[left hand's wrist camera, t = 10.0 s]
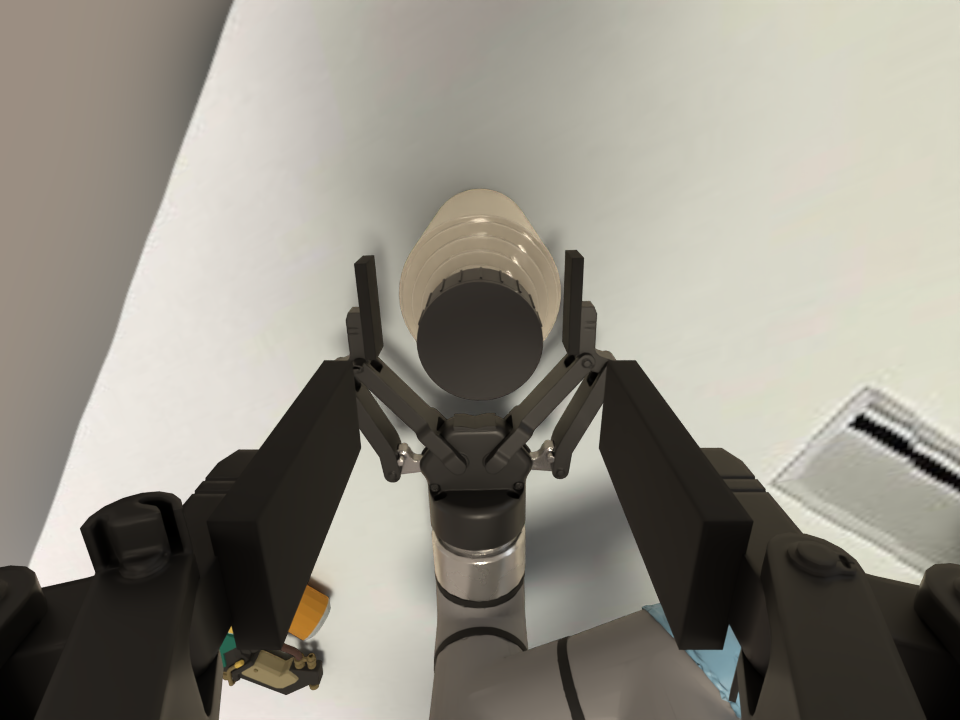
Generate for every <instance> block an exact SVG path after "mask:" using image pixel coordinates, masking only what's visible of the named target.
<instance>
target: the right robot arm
mask: <svg viewBox="0 0 960 720" xmlns="http://www.w3.org/2000/svg"><path fill="white" fill-rule="evenodd" d="M354 267H355V276H356V284H357V293H358V302H359V307H352V308H351V310H350V311H349V312H348V314H347V318H346V326H347V334H348V342H349V350H350V355H349V356H346V357H339V358H337V359H336V360H353V370H354V380H355V391H356V401H357V411H358V421H359V429H360V430H361V432H362V433H363V435H364V436H365V437H366V439H367V440H368V442H369V443H370V444H371V446H372V447H373V449H374V450H375V452H376V453H377V454H378V456H379V457H380V461H381V465H382V469H383V473H384V477H385V479H386V480H387V481H389V482H397V481H398V480H399V479H400V477H401V474H407V473H415V472H422V474H423V475H424V476H425V478H426V480H427V482H428V491H429V504H430V517H431V526H432V544H433V555H434V566H435V577H436V588H437V631H436V642H435V653H434V682H433V691H432V699H431V708H430V717H429V720H741V709H740V699H739V692H738V696H737V700H736V703H734V702H731V701H728V700H729V694H730V689H731V685H732V681H733V677H734V673H735V669H736V665H737V662H738V658H739V654H740V650H741V646H740V644H739V642H738V640H737V638H736V636H735V635H734V633H733V631H732V629H731V627H730V625H729V627H728V631H727V635H726V639H725V643H724V648H723V650H679V649H678V646H677V644H676V641H675V639H674V636H673V634H672V631H671V629H670V626H669V624H668V621H667V619H666V616H665V614H664V611H663V609H662V606H661V604H660V603H658V604H655V605H651V606H649V605H646V606H643V607H642V610H640V611H637V612H635V613H632V614H629V615H627V616H624V617H621V618H619V619H616V620H613V621H610V622H608V623H605V624H602V625H600V626H597V627H594V628H592V629H589V630H586V631H584V632H581V633H578V634H576V635H573V636H567V637H565V638H562V639H558V640H556V641H553V642H550V643H547V644H544V645H541V646H538V647H535V648H532V649H529V650H528V642H527V631H526V620H525V590H524V575H525V525H524V524H525V512H526V478H527V476H528V474H529V472H530V471H531V470H544V471H552V474H553V476H554V477H555V478H557V479H563V478H565V477H566V476H567V475H568V473H569V467H570V462H571V456H572V453H573V451H574V449H575V448H576V446H577V444H578V443H579V441H580V440H581V438H582V436H583V435H584V433H585V431H586V430H587V428H588V427H589V425H590V423H591V422H592V420H593V419H594V417H595V415H596V414H597V412H598V410H599V409H600V407H601V406H602V404H603V401H604V391H605V380H606V370H607V360H616V359H615V358H614V356H613V355H612V353H611V352H609V351H600V350H597V349H595V339H596V322H597V313H596V310H595V307H594V306H593V304H592V303H591V301H582V289H583V268H584V257H583V256H582V255H581V254H580V253H579V252H578V251H577V250H565V277H564V306H563V336H562V342H563V344H564V347H565V349H566V351H567V354H566V355H565V356H564V357H563V358H562V360H561V361H560V362H559V363H558V364H557V365H556V366H555V367H554V368H553V369H552V370H551V371H550V372H549V374H548V375H547V376H546V377H545V378H544V379H543V380H542V381H541V382H540V383H539V384H538V385H537V387H536V388H535V389H534V390H533V391H532V392H531V393H530V394H529V395H528V396H527V397H526V398H525V399H524V401H523V402H522V403H521V404H520V405H518V406H515V407H514V408H513V409H512V410H511V411H510V412H509V413H508V414H507V415H506V417H505V418H504V419H503V418H501V417H499V416H496V413H484V414H481V415H477V416H473V415H468V414H454V417H452V418H449V419H448V420H447V419H446V418H445V417H444V416H443V415H442V414H441V413H440V412H438V411H437V410H436V409H435V408H431V407H430V406H429V405H428V404H426V403H425V402H424V401H423V400H422V399H421V398H420V397H419V396H418V395H417V394H416V393H415V392H414V391H413V390H412V389H411V388H410V387H409V386H408V385H407V384H406V383H405V382H404V381H403V380H402V379H401V378H399V377H398V376H397V375H396V374H395V373H394V372H393V371H392V370H391V369H390V368H389V367H388V366H387V365H386V364H385V363H384V362H383V361H382V360H381V359H380V358H379V357H378V356H379V354H380V352H381V350H382V348H383V338H382V328H381V318H380V308H379V298H378V288H377V279H376V269H375V259H374V255H370V256H362V257H361V258H360V259H359V260H358V261H357V262H356V263H354ZM582 380H583V381H582ZM581 381H582V383H581V384H580V386H579V388H578V389H577V391H576V393H575V395H574V396H573V398H572V400H571V401H570V403H569V405H568V406H567V408H566V410H565V411H564V413H563V415H562V417H561V418H560V420H559V422H558V423H557V425H556V427H555V429H554V431H553V434H552V437H551V441H550V440H545V441H544V443H543V444H542V446H541V448H540V449H539V450H538V451H536V452H531V451H530V449H529V447H528V446H527V445H526V444H525V443H526V442H527V441H528V440H529V439H530V438H531V436H532V434H533V432H534V430H535V429H536V428H537V427H538V426H539V425H540V423H541V422H542V421H543V420H544V419H545V418H546V417H547V416H548V415H549V414H550V413H551V412H552V411H553V410H554V409H555V408H556V407H557V406H558V405H559V404H560V403H561V402H562V401H563V399H564V398H565V397H566V396H567V395H568V394H569V393H570V392H571V391H572V390H573V389H574V388H575V387H576V386H577V385H578V384H579V383H580V382H581ZM368 389H369V390H370V391H371V392H372V393H373V394H374V395H376V396H377V397H378V398H379V399H380V400H381V401H382V402H383V403H384V404H385V405H386V406H387V407H388V408H389V409H391V410H392V411H393V412H394V413H395V414H396V415H397V416H398V417H399V418H400V419H401V420H402V421H403V422H404V423H406V424H407V425H408V426H409V427H410V428H411V429H412V430H413V431H414V432H415V433H416V435H417V438H418V439H419V441H420V442H421V443H422V444H423V445H425V446H426V447H425V448H424V450H423V451H422V454H415V453H413V452H412V450H411V449H410V447H409V446H408V444H407V443H401V440H400V437H399V435H398V433H397V432H396V430H395V428H394V427H393V425H392V424H391V422H390V421H389V419H388V418H387V416H386V415H385V413H384V412H383V410H382V409H381V408H380V406H379V405H378V403H377V402H376V400H375V399H374V397H373V396H372V394H371V393H370V391H369V390H368Z"/></svg>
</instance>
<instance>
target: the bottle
mask: <svg viewBox="0 0 960 720" xmlns="http://www.w3.org/2000/svg"><path fill="white" fill-rule="evenodd" d="M480 267H482V268H487V269H493V270H497V271H500V270H501V271H502V272H503V273H505V274H507V275H509V276H511V277H512V278H514V279H515V280H519V283H520V284H521V285H522V286H523V287H524V288H525V290H526V291H527V292H528V294H531V296H532V299H533V302H534V305H535V309H536V311H538V314H539V317H540V320H541V323H542V326H543V327H541V328H542V333H543V341H544V340H545V339H546V338H547V336H548V334H549V333H550V331H551V330H552V327H553V325H554V323H555V321H556V318H557V315H558V311H559V306H560V300H561V287H560V278H559V274H558V270H557V267H556V265H555V262H554V260H553V258H552V256H551V254H550V253H549V251H548V249H547V248H546V246H545V245H544V243H543V242H542V240H541V239H540V237H539V236H538V234H537V233H536V231H535V230H534V228H533V227H532V225H531V224H530V222H529V221H528V219H527V218H526V216H525V215H524V213H523V212H522V211H521V209H520V208H519V207H518V205H517V204H516V203H515V202H514V201H512V200H511V199H510V198H508V197H507V196H505V195H503V194H501V193H499V192H496V191H493V190H489V189H471V190H467V191H464V192H461V193H459V194H457V195H455V196H453V197H452V198H450V199H449V200H448V201H447V202H445V203H444V204H443V206H442V207H441V208H440V209H439V211H438V212H437V214H436V215H435V217H434V218H433V220H432V221H431V223H430V224H429V226H428V227H427V229H426V230H425V232H424V233H423V235H422V236H421V238H420V239H419V241H418V242H417V244H416V245H415V247H414V248H413V250H412V251H411V253H410V254H409V256H408V258H407V260H406V262H405V265H404V268H403V271H402V274H401V279H400V286H399V299H400V307H401V311H402V315H403V318H404V321H405V323H406V325H407V327H408V329H409V331H410V333H411V334H412V336H413V337H414V339H415V340H416V342H417V332H418V327H419V325H418V322H419V319H420V316H421V313H422V311H423V309H425V307H426V303H427V300H428V297H429V294H430V293H432V292H433V291H434V290H435V288H436V287H437V286H438V285H439V284H440V283H441V282H442V280H443V279H444V278H445V279H446V278H448V277H450V276H451V275H453V274H455V273H457V272H460V270H462V271H463V270H466V269H473V268H480Z"/></svg>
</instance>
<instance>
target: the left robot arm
mask: <svg viewBox="0 0 960 720" xmlns="http://www.w3.org/2000/svg"><path fill="white" fill-rule="evenodd" d="M360 450H361V442H360V432H359V421H358V411H357V401H356V391H355V380H354V370H353V360H324V362H323V363H322V364H321V366H320V367H319V368H318V370H317V371H316V372H315V374H314V375H313V377H312V378H311V379H310V381H309V382H308V383H307V385H306V386H305V387H304V389H303V390H302V392H301V393H300V394H299V396H298V397H297V398H296V400H295V401H294V402H293V404H292V405H291V406H290V408H289V409H288V411H287V412H286V413H285V415H284V416H283V417H282V419H281V420H280V421H279V423H278V424H277V426H276V427H275V428H274V430H273V431H272V432H271V434H270V435H269V436H268V438H267V439H266V441H265V442H264V443H263V445H262V446H261V447H260V449H259V450H237V451H236V452H234V453H233V454H231V455H229V456H228V457H226V458H225V459H223V460H222V461H220V462H219V463H218V464H217V465H216V466H215V467H214V468H213V470H212V471H211V472H210V473H209V474H208V476H207V477H206V480H205V481H203V482H202V483H201V484H200V485H199V486H198V488H197V489H196V490H195V494H192V495H191V496H190V497H189V498H188V500H187V501H186V502H185V503H184V504H183V506H182V502H181V499H179V498H178V497H177V496H175V495H174V494H172V493H166V492H160V491H158V492H146V493H140V494H136V495H132V496H129V497H125V498H122V499H120V500H118V501H115V502H113V503H111V504H109V505H106V506H104V507H103V508H101V509H100V510H99V511H97V512H96V513H94V514H93V515H91V516H90V517H89V518H88V519H87V520H86V522H85V523H84V524H83V525H82V526H81V528H80V530H81V533H82V536H83V539H84V542H85V544H86V547H87V550H88V553H89V556H90V559H91V561H92V564H93V567H94V570H95V575H94V576H91V577H88V578H84V579H79V580H74V581H70V582H65V583H61V584H56V585H52V586H47V587H43V588H41V586H40V584H39V581H38V579H37V576H36V574H35V572H34V571H32V570H31V569H29V568H28V567H25V566H5V567H0V720H219V711H220V700H221V690H222V680H223V663H222V658H221V654H220V650H219V649H220V647H221V645H222V643H223V641H224V639H225V637H226V635H227V633H228V631H229V630H230V628H231V627H232V631H233V635H234V639H235V643H236V648H237V650H281V649H282V646H283V644H284V641H285V639H286V636H287V634H288V631H289V629H290V626H291V624H292V621H293V619H294V616H295V614H296V611H297V609H298V606H299V604H300V601H301V599H302V596H303V593H304V591H305V588H306V586H307V583H308V581H309V578H310V576H311V573H312V571H313V568H314V566H315V563H316V561H317V558H318V556H319V553H320V551H321V548H322V546H323V543H324V541H325V538H326V535H327V533H328V530H329V528H330V525H331V523H332V520H333V518H334V515H335V513H336V510H337V508H338V505H339V503H340V500H341V498H342V495H343V493H344V490H345V488H346V485H347V483H348V480H349V477H350V475H351V472H352V470H353V467H354V465H355V462H356V460H357V457H358V455H359V452H360ZM599 450H600V452H601V455H602V457H603V460H604V462H605V465H606V467H607V470H608V472H609V475H610V477H611V480H612V483H613V485H614V488H615V490H616V493H617V495H618V498H619V500H620V503H621V505H622V508H623V510H624V513H625V515H626V518H627V520H628V523H629V525H630V528H631V530H632V533H633V535H634V538H635V541H636V543H637V546H638V548H639V551H640V553H641V556H642V558H643V561H644V563H645V566H646V568H647V571H648V573H649V576H650V578H651V581H652V583H653V586H654V588H655V591H656V593H657V596H658V599H659V601H660V604H661V606H662V609H663V611H664V614H665V616H666V619H667V621H668V624H669V626H670V629H671V631H672V634H673V636H674V639H675V641H676V644H677V646H678V649H679V650H723V648H724V643H725V639H726V635H727V631H728V627H729V625H730V627H731V629H732V631H733V633H734V635H735V636H736V638H737V640H738V642H739V644H740V646H741V650H740V654H739V658H738V662H737V665H736V669H735V673H734V677H733V681H732V685H731V689H730V694H729V700H728V701H731V702H734V703H736V700H737V696H738V692H739V699H740V709H741V720H960V565H957V564H952V563H947V564H935V565H933V566H932V567H930V568H928V569H927V570H926V571H925V574H924V576H923V579H922V581H921V584H920V586H919V585H914V584H910V583H905V582H900V581H896V580H891V579H887V578H882V577H878V576H873V575H870V574H866V573H865V572H864V570H863V569H862V568H861V566H860V565H859V563H858V562H857V560H856V559H854V558H853V557H852V556H851V555H849V554H848V553H847V552H846V551H844V550H843V549H842V548H840V547H838V546H836V545H834V544H832V543H830V542H828V541H826V540H824V539H821V538H818V537H815V536H811V535H808V534H803V533H802V532H801V531H800V529H799V528H798V527H797V526H796V525H795V523H794V522H793V521H792V520H791V519H790V518H789V516H788V515H787V514H786V513H785V512H784V510H783V509H782V508H781V507H780V506H779V504H778V503H777V502H776V501H775V500H774V498H773V497H772V496H771V495H770V494H769V492H766V491H765V488H764V487H763V485H762V484H761V483H760V482H759V481H758V479H755V476H754V475H753V473H752V472H751V471H750V470H749V469H748V467H747V466H746V465H745V464H744V463H743V461H741V460H740V459H738V458H737V457H735V456H733V455H732V454H730V453H729V452H727V451H726V450H724V449H723V448H700V447H699V446H698V445H697V443H696V442H695V441H694V439H693V438H692V436H691V435H690V434H689V432H688V431H687V430H686V428H685V427H684V426H683V424H682V423H681V421H680V420H679V419H678V417H677V416H676V415H675V413H674V412H673V411H672V409H671V408H670V406H669V405H668V404H667V402H666V401H665V400H664V398H663V397H662V396H661V394H660V393H659V392H658V390H657V389H656V387H655V386H654V385H653V383H652V382H651V381H650V379H649V378H648V377H647V375H646V374H645V372H644V371H643V370H642V368H641V367H640V366H639V364H638V363H637V362H636V360H607V370H606V380H605V391H604V401H603V411H602V421H601V432H600V442H599Z"/></svg>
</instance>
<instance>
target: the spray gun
mask: <svg viewBox="0 0 960 720" xmlns="http://www.w3.org/2000/svg"><path fill="white" fill-rule="evenodd" d="M329 612H330V601H329V598H328V597H327V596H325V595H324V594H322V593H320V592H318V591H317V590H315V589H313V588H312V587H310V586H308V585H307V586H306V588H305V591H304V593H303V596H302V599H301V601H300V604H299V606H298V609H297V611H296V614H295V616H294V619H293V621H292V624H291V626H290V629H289V631H288V632H290V633H291V634H293V635H295V636H296V637H298V638H300V639H301V640H307V639H309V638H311V637H313V636H314V635H315V634H316V633H317V632H318V631H319V630H320V628H321V627H322V625H323V624H324V622H325V620H326V618H327V616H328V614H329ZM219 650H220V654H221V658H222V663H223V679H224V680H228V682H229V685H230V686H233V685H234V684H235V682H236V681H238V680H240V678H242V679H245V680H248V681H250V682H253V683H256V684H258V685H261V686H263V687H266V688H269V689H271V690H274V691H277V692H279V693H282V694H285V695H287V694H290V693H292V692H294V691H296V690H299V689H301V688H303V687H305V686H307V685H309V687H310V689H311V690H316V689H317V688H318V687H319V684H320V681H321V678H322V675H323V668H322V661H321V660H316V656H315V654H314V653H310V654H308V656H307V657H304V654H303V653H301V652H300V651H299V650H298V649H297V648H295V647H292V646H290V645H287V644H285V643H284V644H283V646H282V649H281V651H283V652H286V653H289V654H291V655H293V656H294V657H292V658H290V659H288V660H284V659H282V658H280V657H278V656H275V655H273V654H271V653H269V652H267V651H264V650H237V648H236V643H235V639H234V635H233V631H232V627H231V628H230V630H229V631H228V633H227V635H226V637H225V639H224V641H223V643H222V645H221V647H220V649H219ZM232 679H233V680H232Z"/></svg>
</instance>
